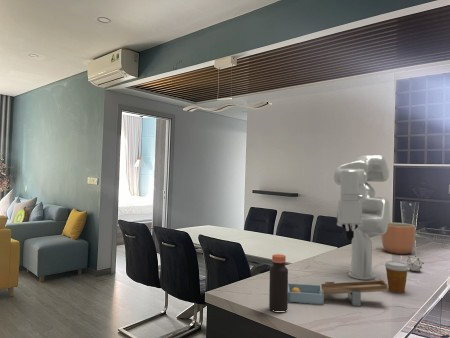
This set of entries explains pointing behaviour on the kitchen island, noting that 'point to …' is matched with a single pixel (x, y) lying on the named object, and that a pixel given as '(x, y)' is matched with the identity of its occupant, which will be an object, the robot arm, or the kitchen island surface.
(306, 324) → the kitchen island surface
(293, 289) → the ball
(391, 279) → the disposable coffee cup
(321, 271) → the kitchen island surface
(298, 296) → the dish
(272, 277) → the bottle
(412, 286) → the kitchen island surface
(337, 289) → the lever
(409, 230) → the planter
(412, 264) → the spiky grey ball
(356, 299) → the grey arch block
